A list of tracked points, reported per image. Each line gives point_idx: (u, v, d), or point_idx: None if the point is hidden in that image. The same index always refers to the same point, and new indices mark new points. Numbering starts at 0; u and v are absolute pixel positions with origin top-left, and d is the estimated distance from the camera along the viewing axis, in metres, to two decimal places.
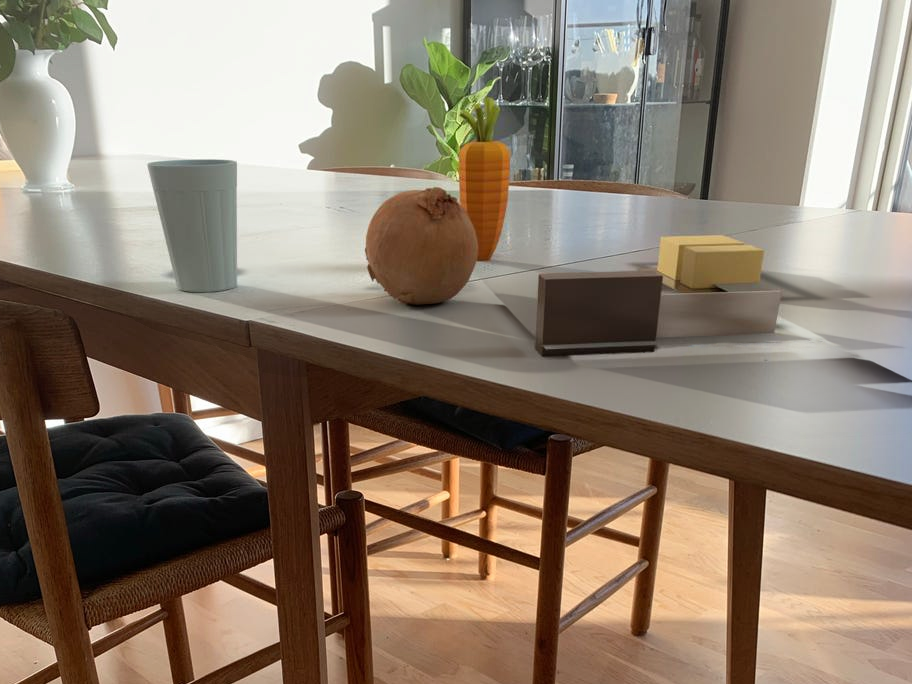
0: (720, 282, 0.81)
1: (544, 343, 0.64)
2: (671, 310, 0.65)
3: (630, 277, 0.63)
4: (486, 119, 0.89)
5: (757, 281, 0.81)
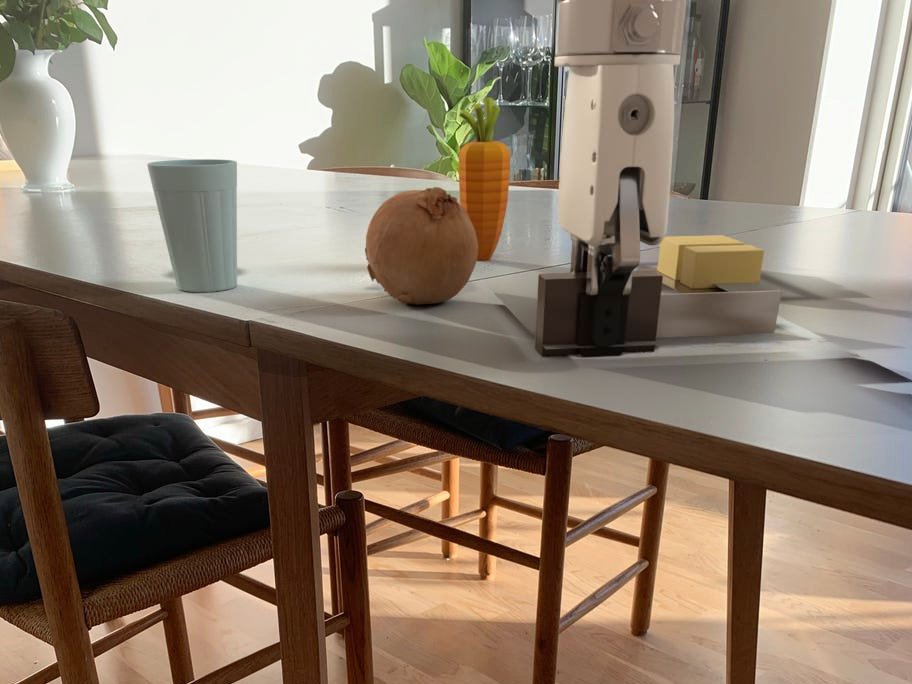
0: (720, 282, 0.81)
1: (544, 343, 0.64)
2: (671, 310, 0.65)
3: None
4: (486, 119, 0.89)
5: (757, 281, 0.81)
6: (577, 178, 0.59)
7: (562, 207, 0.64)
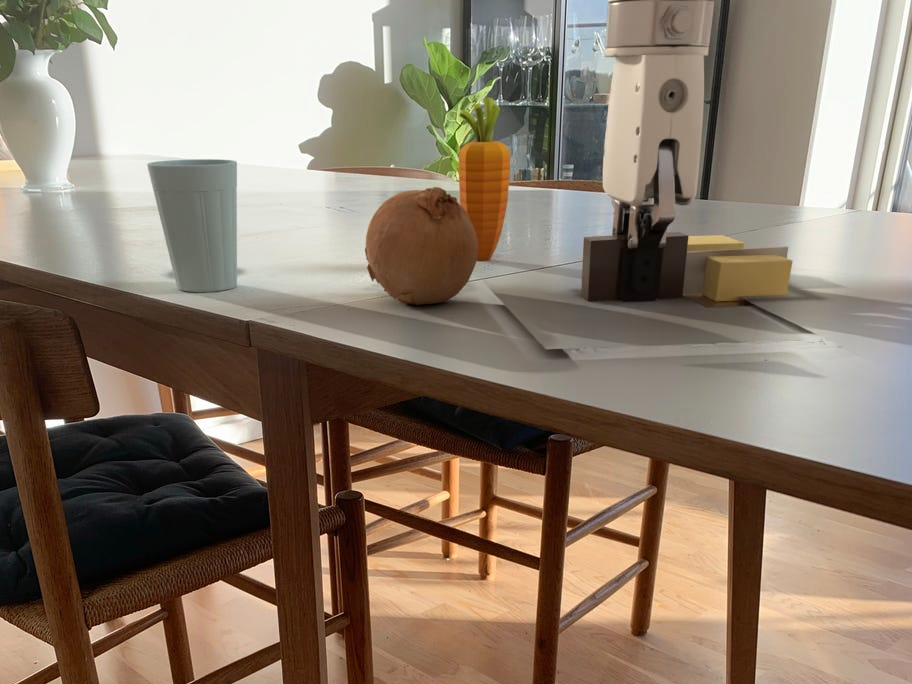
0: (745, 294, 0.76)
1: (589, 295, 0.77)
2: (695, 265, 0.77)
3: None
4: (486, 119, 0.89)
5: (784, 293, 0.77)
6: (622, 149, 0.71)
7: (607, 175, 0.76)
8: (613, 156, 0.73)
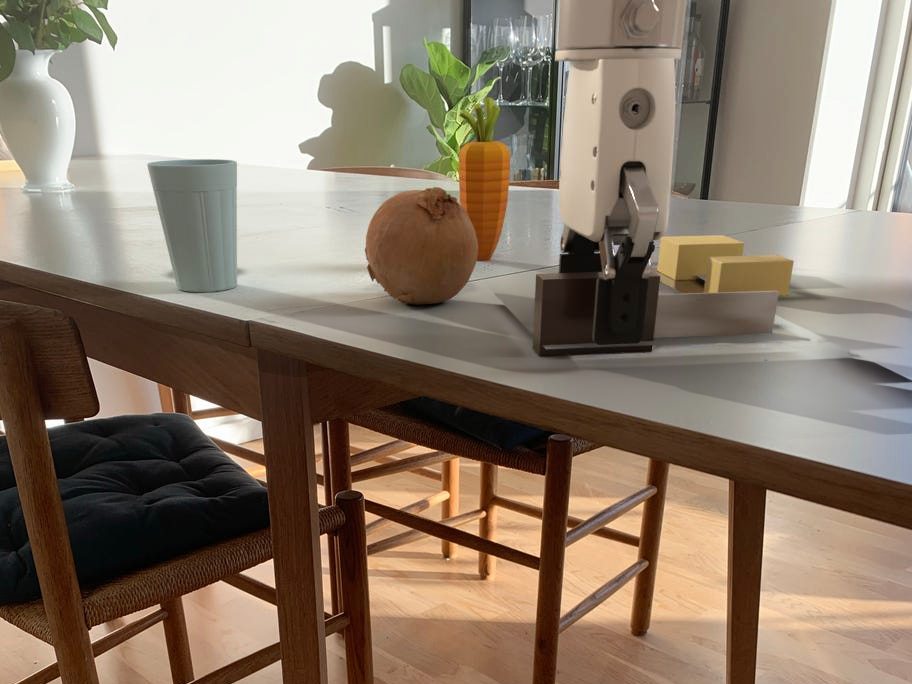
0: None
1: (541, 343, 0.64)
2: (668, 310, 0.65)
3: None
4: (486, 119, 0.89)
5: (786, 293, 0.76)
6: (578, 173, 0.59)
7: (563, 202, 0.63)
8: (569, 180, 0.61)
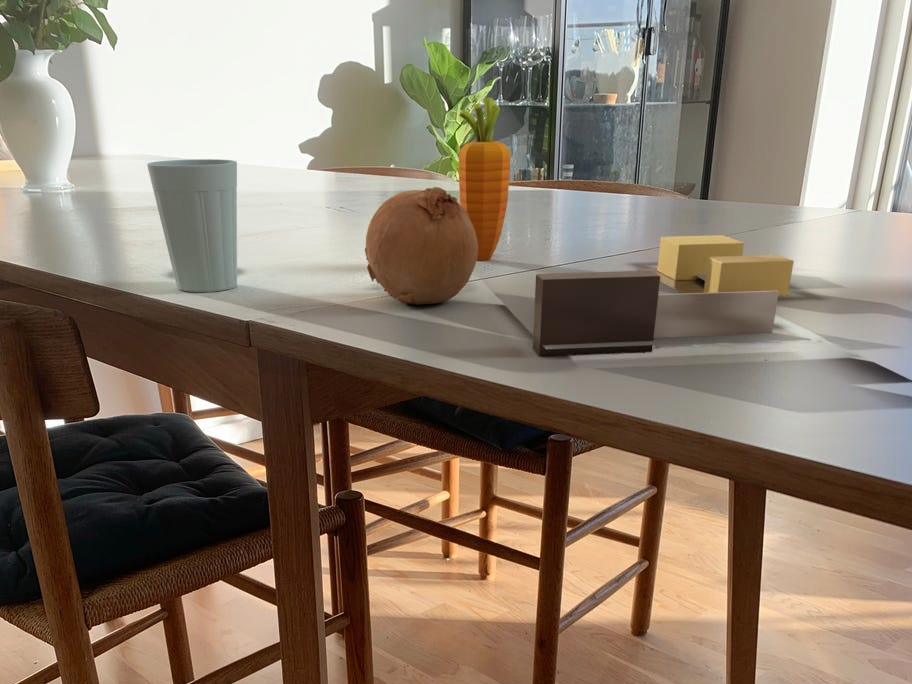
0: None
1: (541, 343, 0.64)
2: (668, 310, 0.65)
3: (627, 277, 0.63)
4: (486, 119, 0.89)
5: (786, 293, 0.76)
6: None
7: None
8: None
